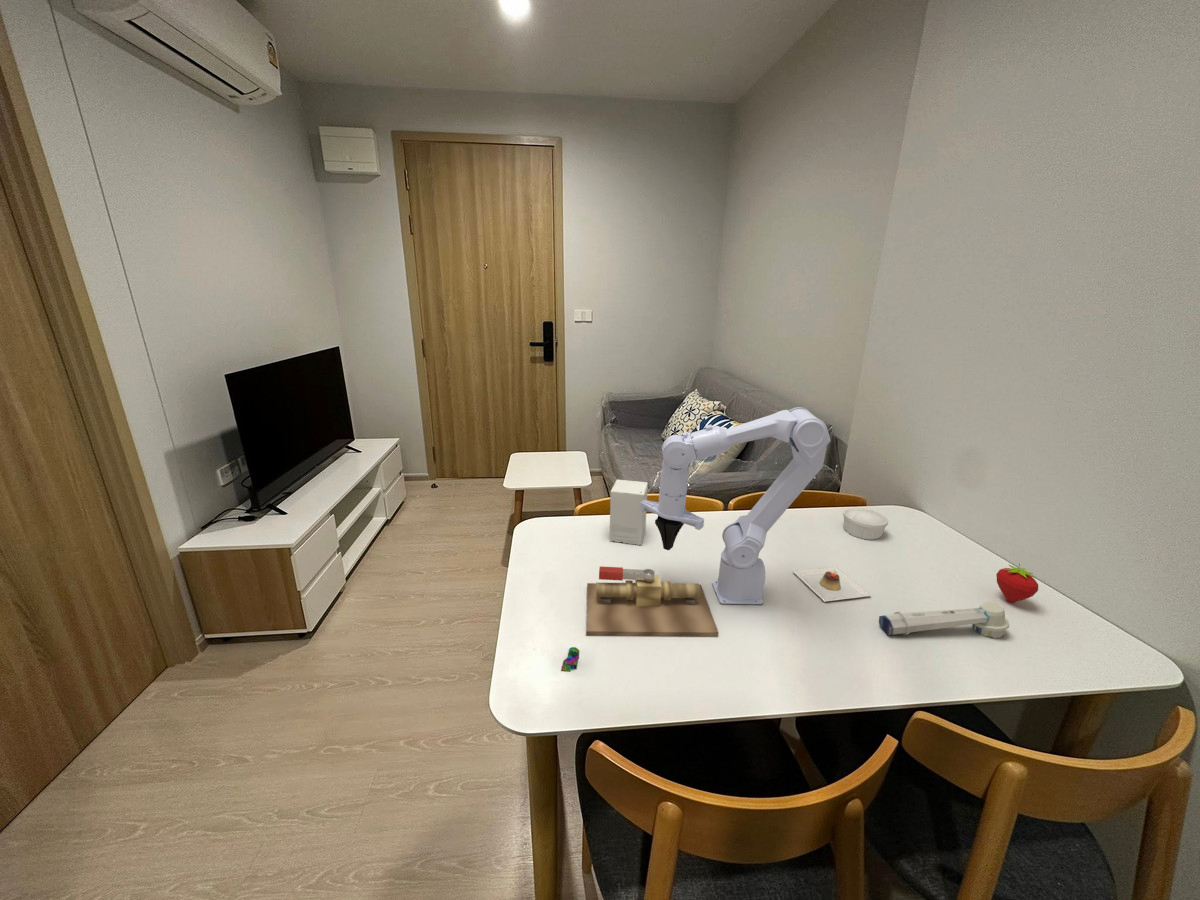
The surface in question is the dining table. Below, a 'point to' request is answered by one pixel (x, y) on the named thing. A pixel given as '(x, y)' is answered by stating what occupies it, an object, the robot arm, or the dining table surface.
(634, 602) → the valve board
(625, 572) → the valve lever
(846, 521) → the ramekin
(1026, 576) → the strawberry
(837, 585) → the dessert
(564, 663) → the puzzle cube
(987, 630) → the toothbrush head
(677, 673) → the dining table surface
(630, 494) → the supplement box
